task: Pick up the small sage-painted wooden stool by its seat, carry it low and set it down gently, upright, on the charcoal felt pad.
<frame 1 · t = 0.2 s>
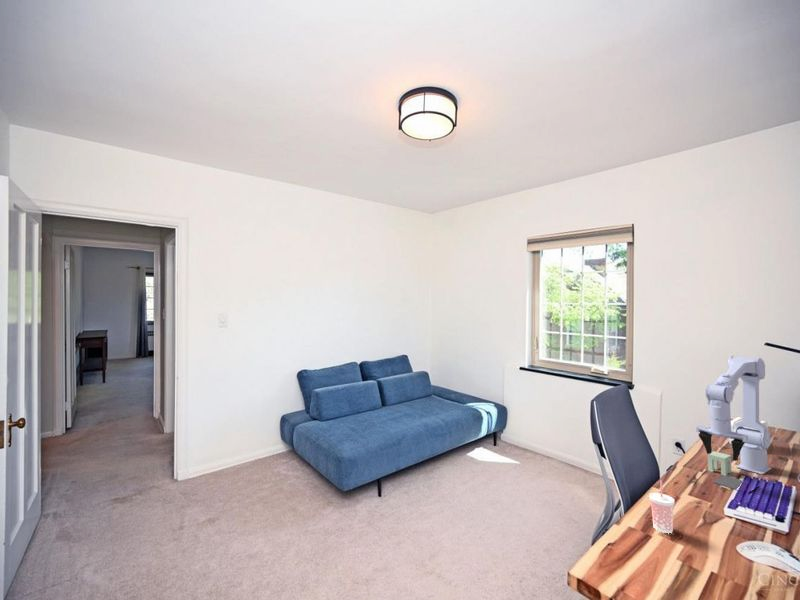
hand: (722, 456, 136), 10 cm above the table, fingers open, 7 cm apart
cable organizer: (748, 446, 173), on the table
felt pad: (735, 484, 136), on the table
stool: (719, 471, 147), on the table
beverage cup: (662, 530, 109), on the table
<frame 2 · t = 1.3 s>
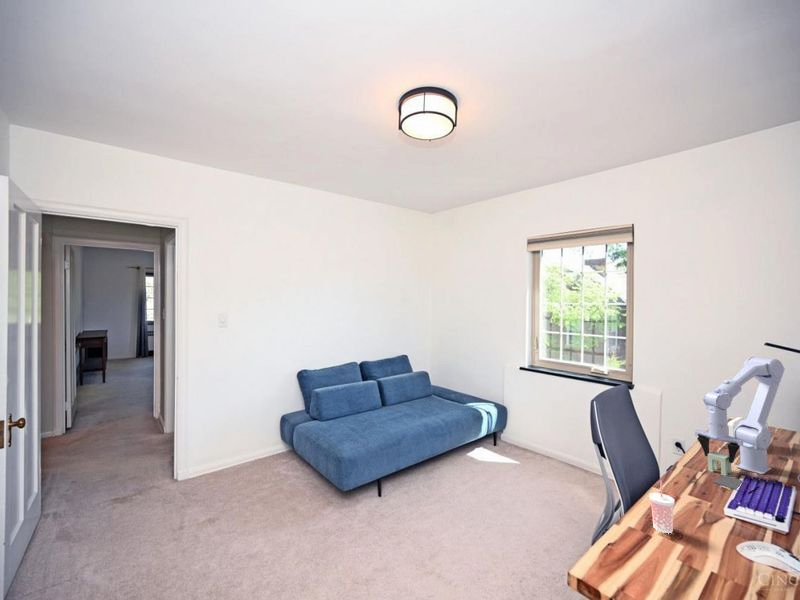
hand: (719, 459, 147), 5 cm above the table, fingers open, 7 cm apart
nothing on the table moved.
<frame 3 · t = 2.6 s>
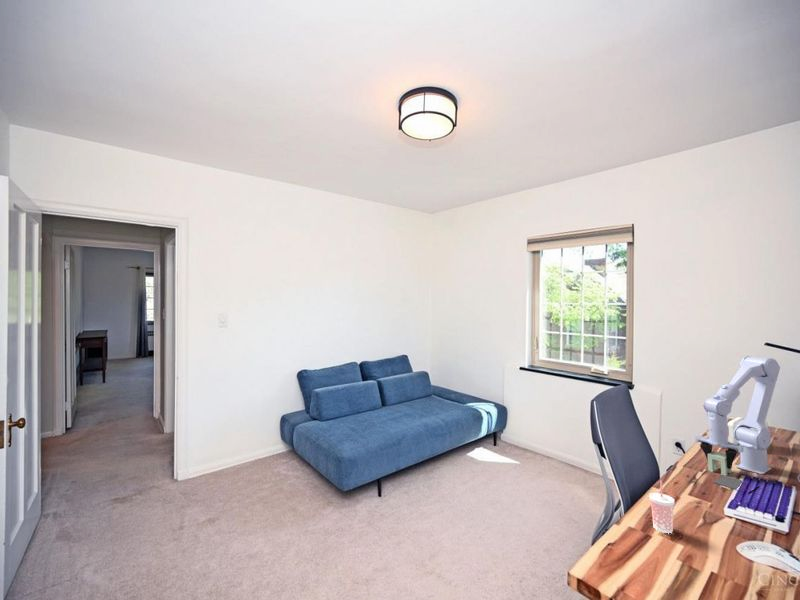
hand: (719, 465, 147), 2 cm above the table, fingers closed on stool, 5 cm apart
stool: (719, 471, 147), on the table, touching gripper
everything else where it was.
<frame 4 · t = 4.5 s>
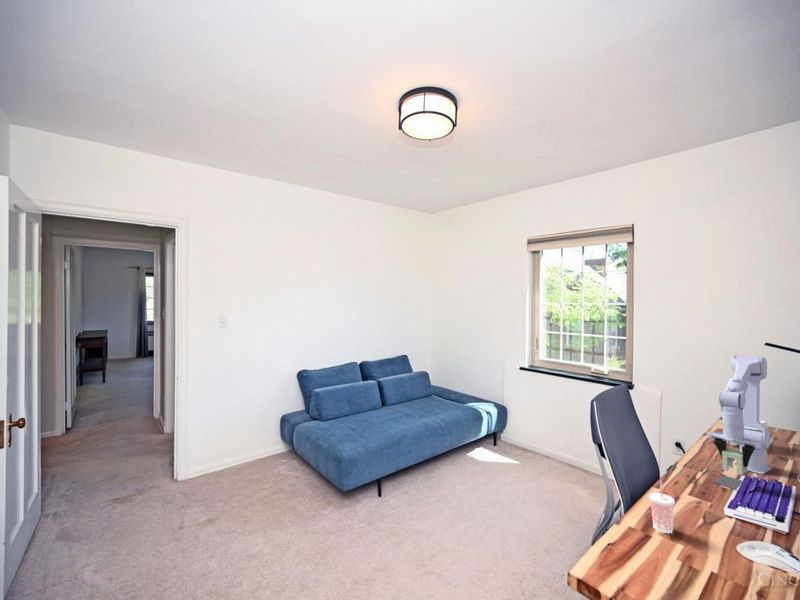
hand: (734, 463, 136), 8 cm above the table, fingers closed on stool, 5 cm apart
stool: (734, 470, 136), point 5 cm above the table, touching gripper
everything else where it was.
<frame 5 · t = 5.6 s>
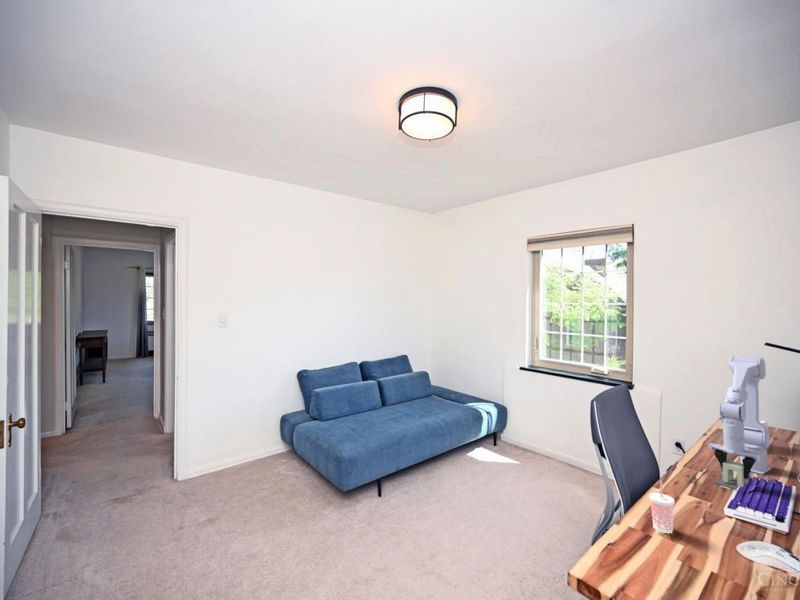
hand: (735, 474, 136), 3 cm above the table, fingers closed on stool, 5 cm apart
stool: (735, 482, 136), point 1 cm above the table, touching gripper
everything else where it was.
when the fingers open (3 cm above the table, at t = 6.6 s): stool stays where it is, resting on felt pad.
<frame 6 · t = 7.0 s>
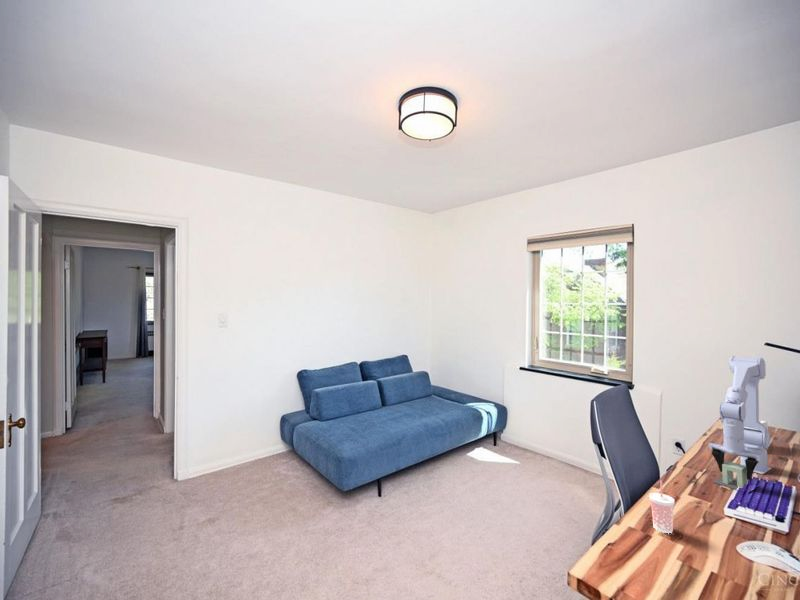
hand: (735, 474, 136), 3 cm above the table, fingers open, 7 cm apart
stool: (735, 483, 136), resting on felt pad
everything else where it was.
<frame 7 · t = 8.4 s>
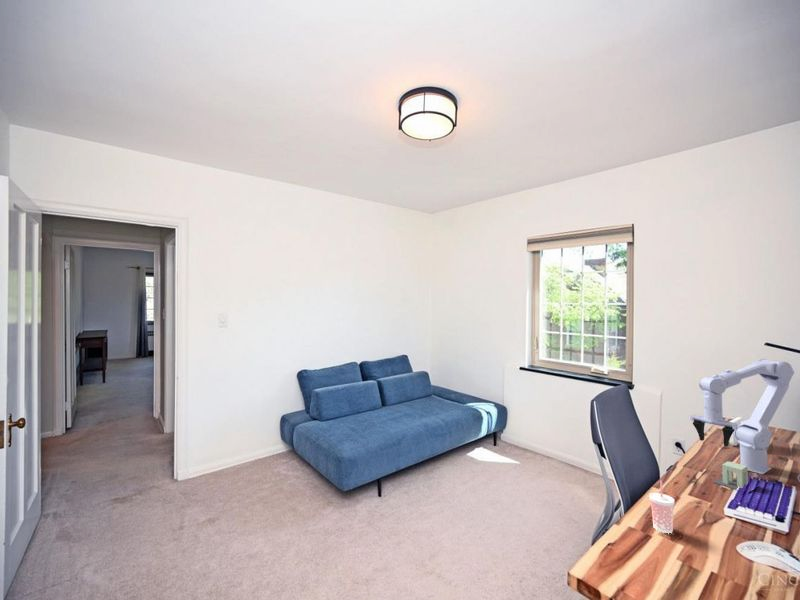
hand: (713, 442, 149), 10 cm above the table, fingers open, 7 cm apart
nothing on the table moved.
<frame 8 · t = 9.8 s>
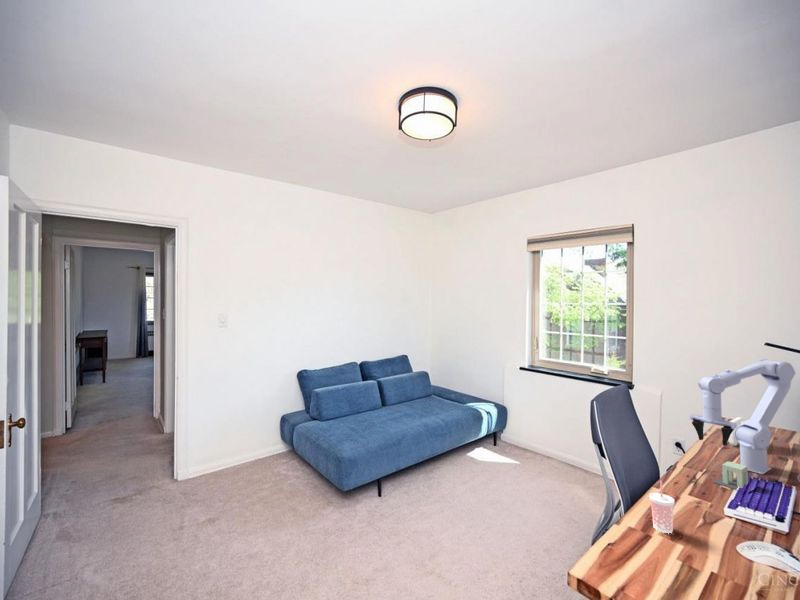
hand: (712, 442, 150), 10 cm above the table, fingers open, 7 cm apart
nothing on the table moved.
at the end: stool inside the target area on the felt pad (0.1 cm from its centre), point 0.3 cm above the felt pad's base; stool tilted 0°; the gripper is holding nothing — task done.
